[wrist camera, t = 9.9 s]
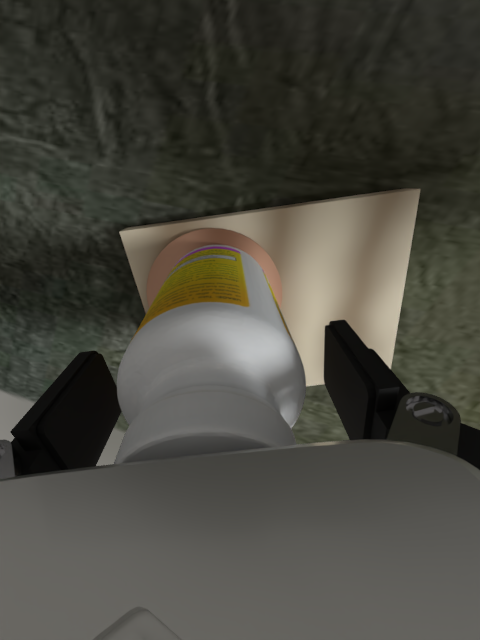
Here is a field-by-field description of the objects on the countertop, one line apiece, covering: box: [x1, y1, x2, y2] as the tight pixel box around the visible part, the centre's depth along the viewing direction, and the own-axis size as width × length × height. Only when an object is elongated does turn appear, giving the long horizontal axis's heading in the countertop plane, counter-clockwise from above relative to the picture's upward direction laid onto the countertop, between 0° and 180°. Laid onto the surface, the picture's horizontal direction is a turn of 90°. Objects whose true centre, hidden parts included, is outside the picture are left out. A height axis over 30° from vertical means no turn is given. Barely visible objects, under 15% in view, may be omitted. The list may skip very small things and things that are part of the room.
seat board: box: [119, 188, 421, 386], centre depth 20 cm, size 18×14×2 cm
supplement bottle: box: [114, 245, 306, 464], centre depth 12 cm, size 7×7×13 cm
